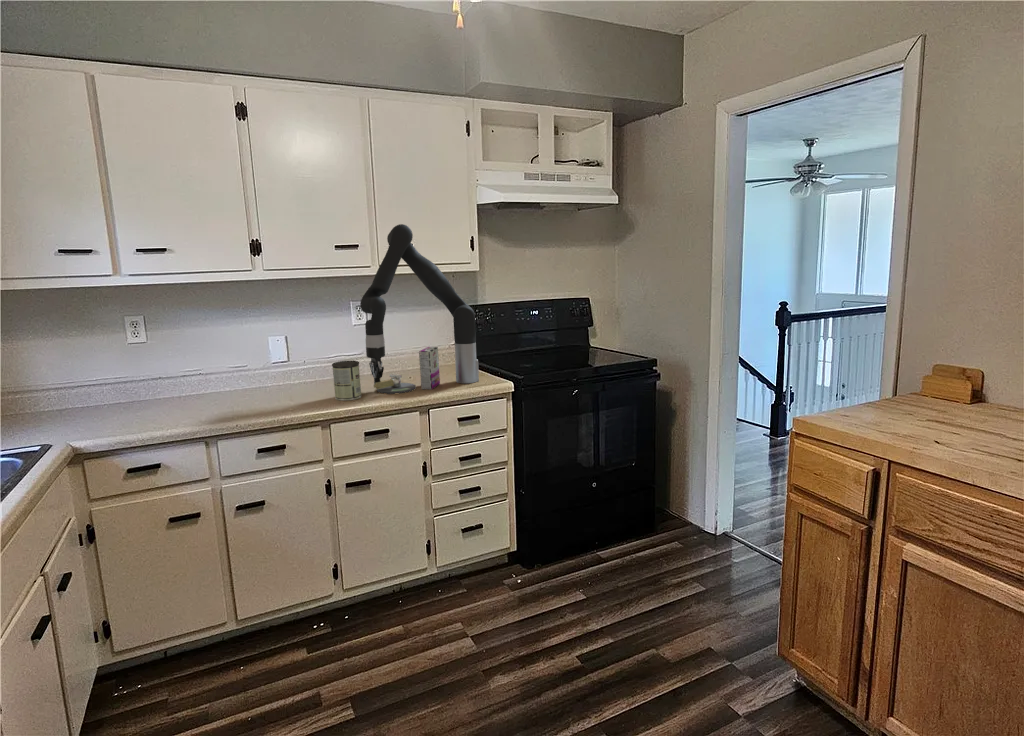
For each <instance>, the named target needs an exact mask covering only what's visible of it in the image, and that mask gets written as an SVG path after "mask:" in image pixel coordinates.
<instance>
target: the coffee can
mask: <svg viewBox="0 0 1024 736" xmlns="http://www.w3.org/2000/svg"><path fill="white" fill-rule="evenodd" d="M331 366H332V375H333V378H332V379H333V387H334V399H335V400H336V401H339V402H341V401H342V402H343V401H344V402H345V401H348V402H349V401H354V400H357V399H361V398H362V388H361V374H360V361H357V360H342V361H335V362H334V363H332V364H331Z"/></svg>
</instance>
